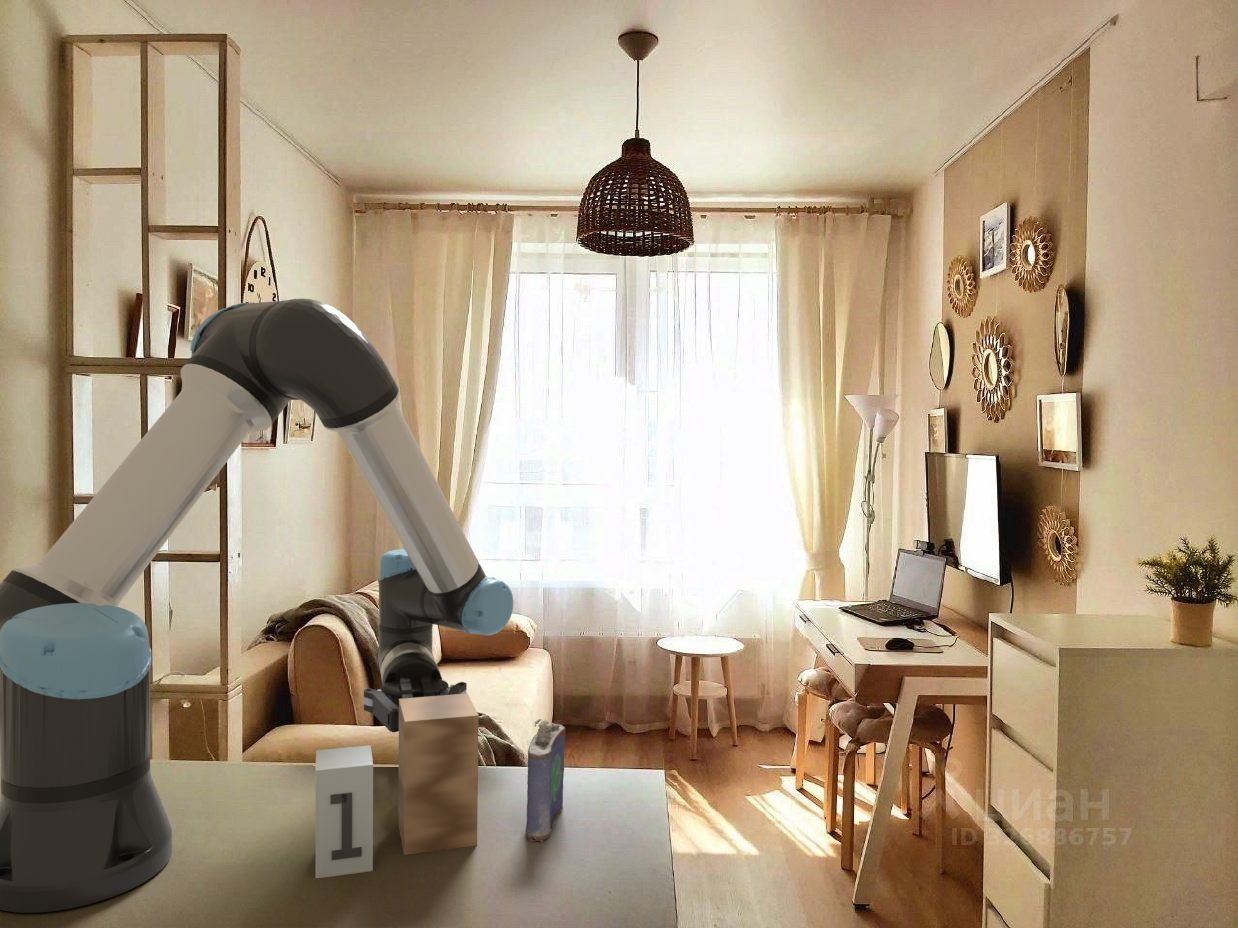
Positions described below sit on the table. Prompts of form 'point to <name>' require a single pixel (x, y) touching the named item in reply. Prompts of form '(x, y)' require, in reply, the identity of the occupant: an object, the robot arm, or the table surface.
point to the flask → (545, 780)
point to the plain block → (437, 773)
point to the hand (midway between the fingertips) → (428, 741)
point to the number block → (344, 811)
